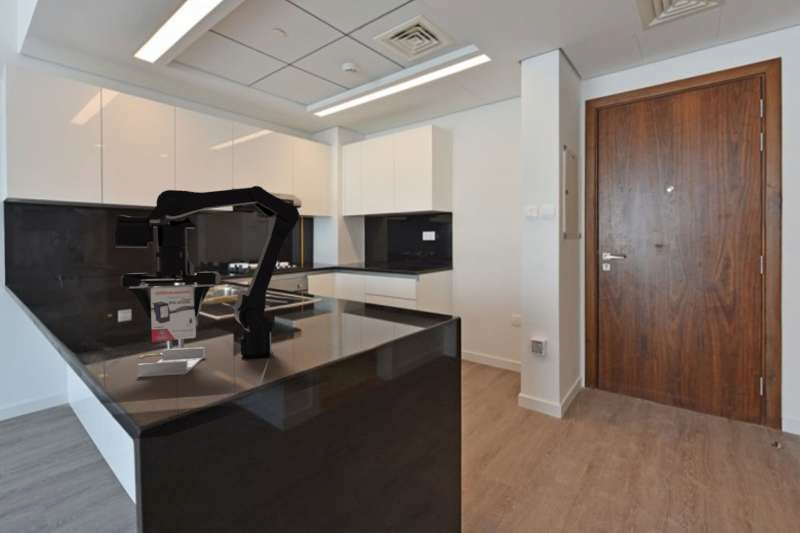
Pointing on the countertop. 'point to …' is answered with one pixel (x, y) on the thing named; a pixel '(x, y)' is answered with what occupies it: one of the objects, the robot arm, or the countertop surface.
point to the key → (149, 355)
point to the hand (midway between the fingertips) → (174, 317)
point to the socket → (173, 362)
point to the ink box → (173, 312)
